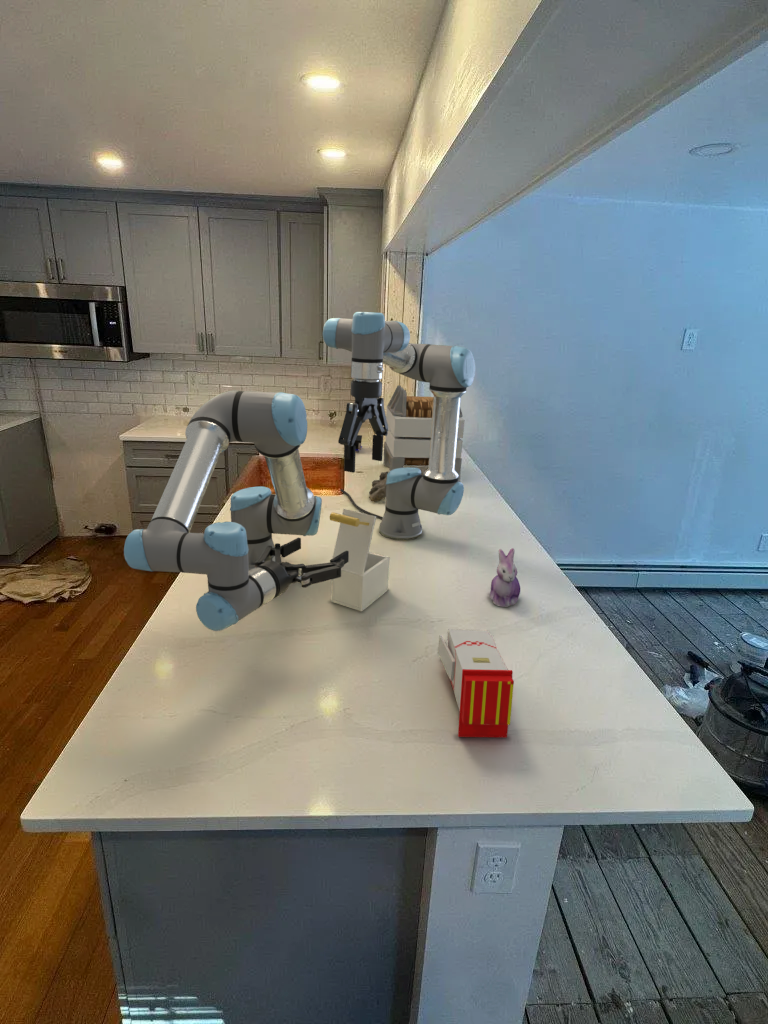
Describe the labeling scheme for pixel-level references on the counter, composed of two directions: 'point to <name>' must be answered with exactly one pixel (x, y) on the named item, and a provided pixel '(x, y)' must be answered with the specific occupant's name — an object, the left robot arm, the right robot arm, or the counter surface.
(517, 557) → the counter surface
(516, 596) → the figurine
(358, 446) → the figurine character
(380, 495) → the fossil
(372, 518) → the lid
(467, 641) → the toy
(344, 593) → the chest
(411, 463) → the white wooden crate
